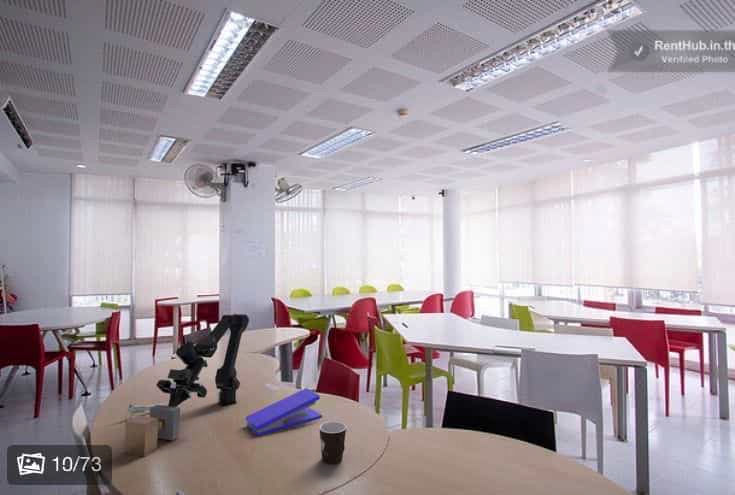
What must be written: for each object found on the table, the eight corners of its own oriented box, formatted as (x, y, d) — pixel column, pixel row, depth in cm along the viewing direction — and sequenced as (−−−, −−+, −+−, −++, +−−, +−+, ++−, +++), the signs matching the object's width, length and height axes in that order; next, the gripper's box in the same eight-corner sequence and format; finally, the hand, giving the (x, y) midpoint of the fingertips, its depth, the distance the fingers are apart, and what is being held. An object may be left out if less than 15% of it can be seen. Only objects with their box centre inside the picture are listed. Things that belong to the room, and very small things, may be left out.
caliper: (126, 422, 145) (127, 405, 146) (125, 421, 146) (126, 405, 146) (175, 405, 163) (176, 391, 164) (174, 405, 164) (174, 390, 164)
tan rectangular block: (163, 431, 137) (164, 403, 137) (182, 434, 135) (183, 406, 135) (123, 453, 121) (125, 421, 121) (144, 456, 119) (145, 424, 119)
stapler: (322, 418, 152) (323, 394, 153) (257, 437, 134) (258, 409, 135) (308, 410, 161) (308, 386, 161) (244, 427, 143) (245, 400, 143)
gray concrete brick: (155, 433, 134) (156, 404, 135) (178, 436, 132) (180, 407, 132) (148, 436, 132) (150, 407, 132) (172, 440, 129) (173, 410, 130)
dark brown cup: (319, 452, 123) (319, 421, 124) (345, 452, 124) (346, 421, 125) (317, 472, 112) (318, 437, 112) (346, 471, 112) (347, 437, 113)
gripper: (161, 357, 142) (134, 396, 131) (203, 361, 138) (179, 402, 126) (175, 373, 150) (151, 411, 138) (216, 377, 145) (195, 417, 134)
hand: (168, 410), depth 134 cm, fingers closed, pressing on gray concrete brick
